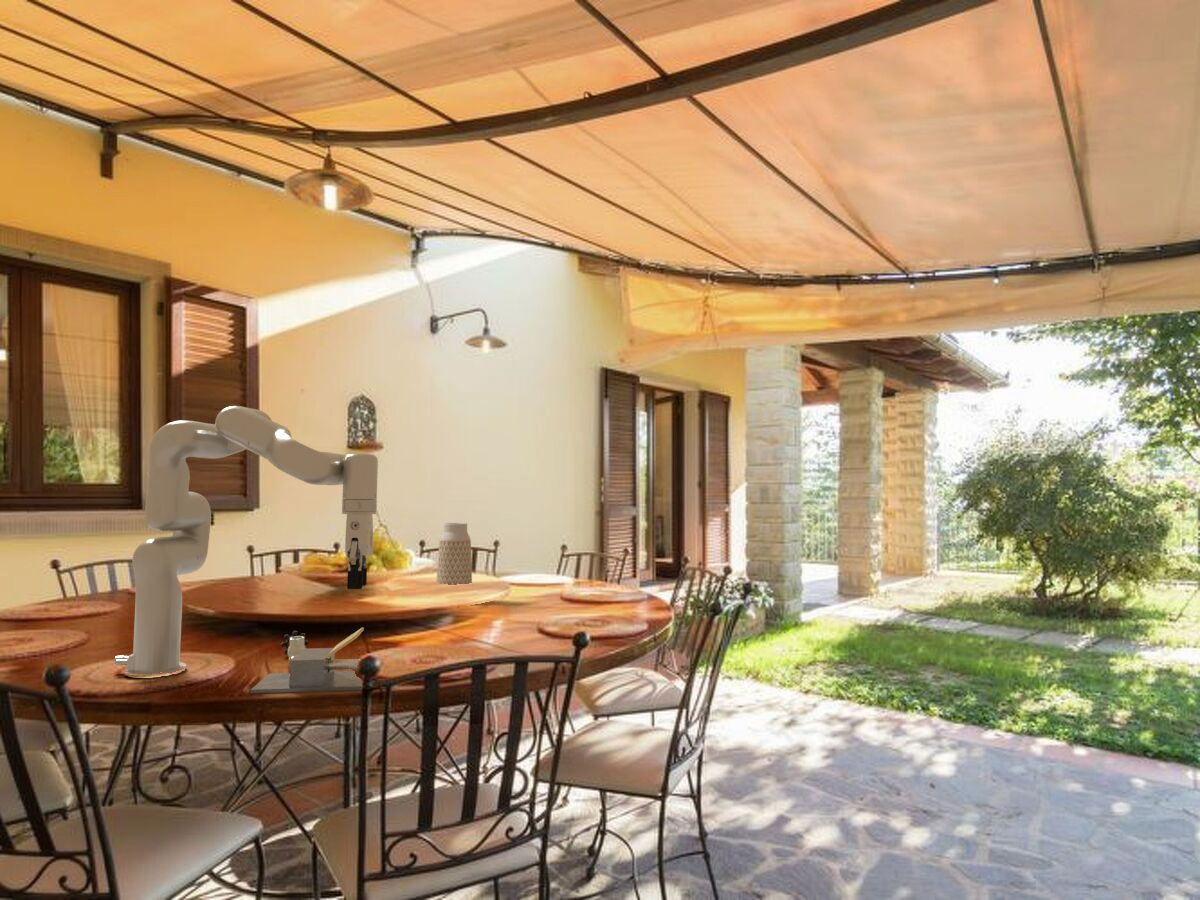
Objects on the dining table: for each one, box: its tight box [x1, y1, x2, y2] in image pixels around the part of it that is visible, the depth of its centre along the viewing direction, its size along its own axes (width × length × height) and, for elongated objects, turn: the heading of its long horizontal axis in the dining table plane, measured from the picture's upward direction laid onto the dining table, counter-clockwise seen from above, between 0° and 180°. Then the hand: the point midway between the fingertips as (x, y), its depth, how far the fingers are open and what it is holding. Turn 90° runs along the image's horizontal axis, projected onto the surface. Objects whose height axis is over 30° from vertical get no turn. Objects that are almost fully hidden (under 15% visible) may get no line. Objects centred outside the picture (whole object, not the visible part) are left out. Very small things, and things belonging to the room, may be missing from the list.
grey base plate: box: [250, 647, 363, 694], centre depth 164 cm, size 23×14×6 cm, turn 99°
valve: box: [280, 630, 309, 661], centre depth 185 cm, size 7×7×12 cm
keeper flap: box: [326, 626, 365, 660], centre depth 165 cm, size 8×10×1 cm
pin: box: [287, 655, 359, 676], centre depth 164 cm, size 14×4×4 cm, turn 99°
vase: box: [435, 522, 473, 585], centre depth 287 cm, size 14×14×31 cm
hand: (357, 586), depth 166 cm, fingers open, 5 cm apart
